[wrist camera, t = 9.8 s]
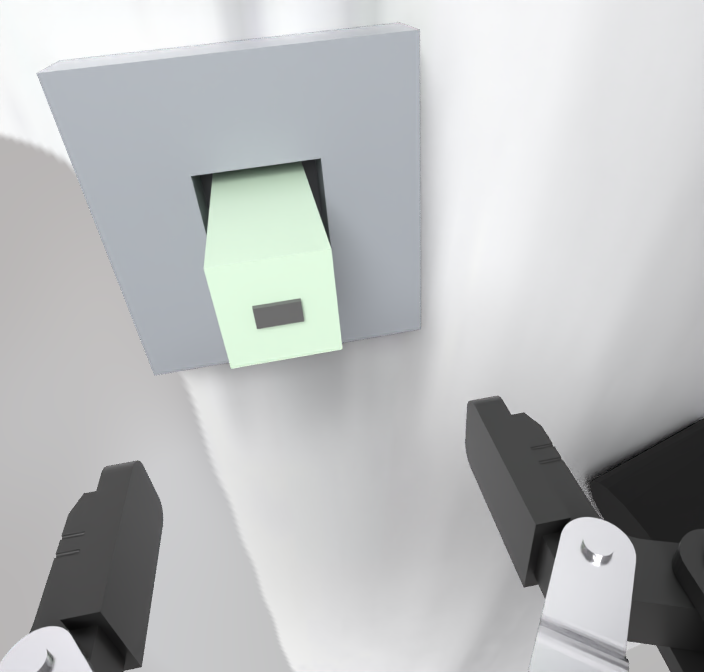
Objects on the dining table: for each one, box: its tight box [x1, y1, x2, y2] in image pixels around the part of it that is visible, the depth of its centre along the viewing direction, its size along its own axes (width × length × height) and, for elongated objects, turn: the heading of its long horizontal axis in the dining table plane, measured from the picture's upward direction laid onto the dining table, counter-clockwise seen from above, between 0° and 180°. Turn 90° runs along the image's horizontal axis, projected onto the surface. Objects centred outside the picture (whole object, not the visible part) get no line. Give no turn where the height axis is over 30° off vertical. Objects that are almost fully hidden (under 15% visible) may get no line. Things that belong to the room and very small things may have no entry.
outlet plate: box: [37, 23, 421, 375], centre depth 25 cm, size 14×14×3 cm
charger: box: [204, 161, 342, 369], centre depth 22 cm, size 4×4×10 cm
